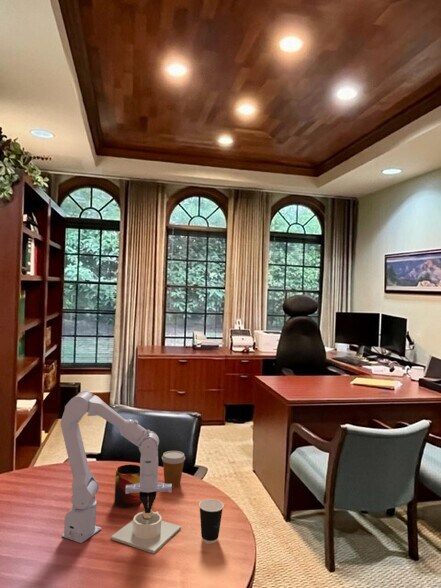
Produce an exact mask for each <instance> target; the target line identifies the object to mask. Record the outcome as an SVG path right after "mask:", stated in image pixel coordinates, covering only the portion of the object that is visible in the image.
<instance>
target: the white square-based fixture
mask: <svg viewBox="0 0 441 588" xmlns="http://www.w3.org/2000/svg"><path fill="white" fill-rule="evenodd" d="M162 518H163V517H162V515H161V514H160V513H159V511H153V518H152V519H150V520H149V524H146V520H145V519H143V511H141V512H137V514H135V515H134V516H133V519H132V520H131V521H129V522H128V523H127V524H125V525H124V526H123V527H121V528H120V529H119V530H117V532H115V533H114V534H112V535H111V536H110V540H112V541H116V542H119V543H122V544H124V545H127V546H131V547H133V548H136V549H138V550H143V551H145V552H148V553H150V554H156V553H157V552H158V551H159V550H160V549H161V548H162V547H164V545H165V544H166V543H167V542H169V541H170V540H171V539H172V538H173V537H174V536H175V535H176V534H177V533H179V531H180V530H182V526H181V525H177V524H175V523H172V522H168V521H164V520H163V519H162Z"/></svg>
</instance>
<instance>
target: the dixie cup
mask: <svg viewBox="0 0 441 588" xmlns="http://www.w3.org/2000/svg"><path fill="white" fill-rule="evenodd" d="M224 506H225V505H224V503H223V502H222V501H220V500H218V499H215V498H207V499H203V500H201V501H199V504H198V507H199V517H200V534H201V535H200V536H201V539H202V540H201V541H202V542H203V543H205V544H210V545H211V544H212V545H213V544H215V543H216V542H218V538H219V534H220V529H221V522H222V521H221V520H222V516H223V510H224Z"/></svg>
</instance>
